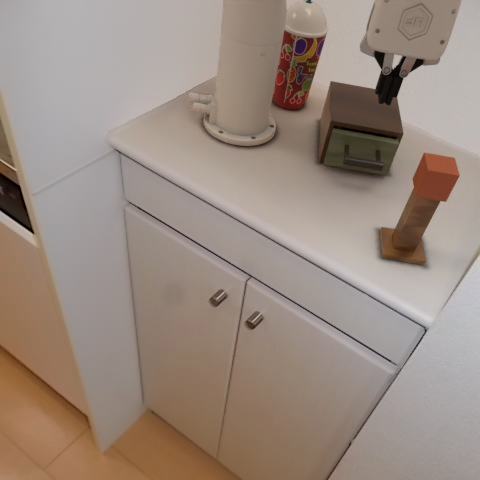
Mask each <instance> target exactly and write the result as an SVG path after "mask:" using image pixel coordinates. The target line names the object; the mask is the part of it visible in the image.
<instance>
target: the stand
mask: <svg viewBox="0 0 480 480" xmlns="http://www.w3.org/2000/svg"><path fill="white" fill-rule="evenodd" d="M440 203H441V201H437V200H432V199H426V198H420V197H416V196H415V191H414V187H413V188H412V190H411V192H410V195H409V197H408V199H407V201H406V204H405V205H404V208H403V210H402V212H401V214H400V217H399V219H398V221H397V223H396V225H395V228H391V227H384V226H380V229H379V238H380V239H379V240H380V250H381V251H380V252H381V257H382V259H385V260H391V261H397V262H403V263H408V264H409V263H410V264H415V265H420V266H425V264H426V262H427V260H426V254H425V249H424V244H423V243H424V242H423V236H424V234H425V232H426V230H427V228H428V227H429V224H430V222H431V220H432V218H433V217H434V215H435V213H436V211H437V209H438V208H439V206H440Z"/></svg>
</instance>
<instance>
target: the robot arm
mask: <svg viewBox="0 0 480 480" xmlns="http://www.w3.org/2000/svg"><path fill="white" fill-rule="evenodd" d="M461 5H462V0H374V1H373V4H372V8H371V10H370V13H369V16H368V20H367V24H366V30H365V34H364V35H363V37H362V38H361V41H360V43H359V50H360V51H359V52H361V53H362V54H364V55H366V56H369V57H370V58H371V57H372V58H374V59H375V61H376V63H377V64H378V66H379V68H380V73H379V76H378V79H377V83H376V85H375V88H374V89H375V94H378V101H379V104H383V103H385V104H386V105H391V102H392V99H393V97H397V98H398V96H399V94H400V90H401V87H402V84H403V81H404V80H405V78H407V77H408V76H409V74H410V73H412V72H414V71H415V70H417V69H418V68H420V67H421V66H424V67H426V66H437V65H438V64H439V63H440V61H441V58H442V57H443V55H444V53H445V51H446V50H447V47H448V44H449V42H450V39H451V36H452V33H453V30H454V27H455V24H456V20H457V18H458V14H459V11H460V8H461ZM287 7H288V6H287V0H222V11H221V12H222V14H221V23H220V24H221V25H220V39H219V49H218V58H217V59H218V61H217V69H216V70H217V71H216V79H215V80H216V81H215V89H214V91H213V94H212V93H207V95H205V94H200V93H197V92H192V91H189V93H188V99H187V103H188V105H193V106H192V112H198V113H204V115H203V127H204V128H205V130H206V131H207V132H208V133H209V135H211V136H212V137H213V138H215V139H217V140H219V141H220V142H224V143H227V144H229V145H234V146H243V147H253V146H259V145H262V144H265V143H268V142H269V141H270V140H272V139H273V137H274V136H275V134H276V131H277V123H276V121H275V119H274V117H273V116H272V115H271V114H270V113H271V108H272V102H273V97H274V96H273V92H274V86H275V81H276V75H277V70H278V64H279V59H280V53H281V48H282V42H283V35H284V30H285V23H286V13H287V10H288V8H287ZM395 55H396V56H400V58H399V61H398V63H397V64H396V65H395V67H393V64H394V59H395Z"/></svg>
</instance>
